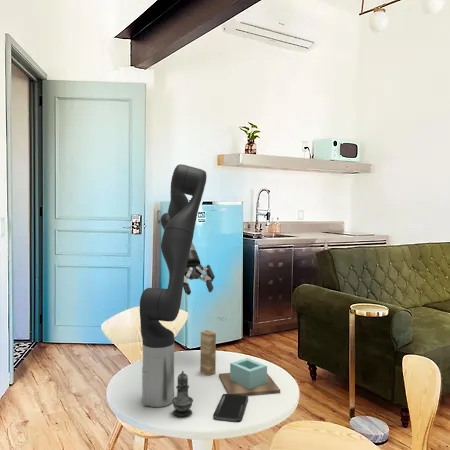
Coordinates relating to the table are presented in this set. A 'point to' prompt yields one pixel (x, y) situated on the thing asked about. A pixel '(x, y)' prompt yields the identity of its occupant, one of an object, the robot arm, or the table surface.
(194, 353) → the table surface
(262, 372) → the teal open box
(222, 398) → the phone
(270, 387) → the base plate
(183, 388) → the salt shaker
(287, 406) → the table surface
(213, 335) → the tall wooden block
